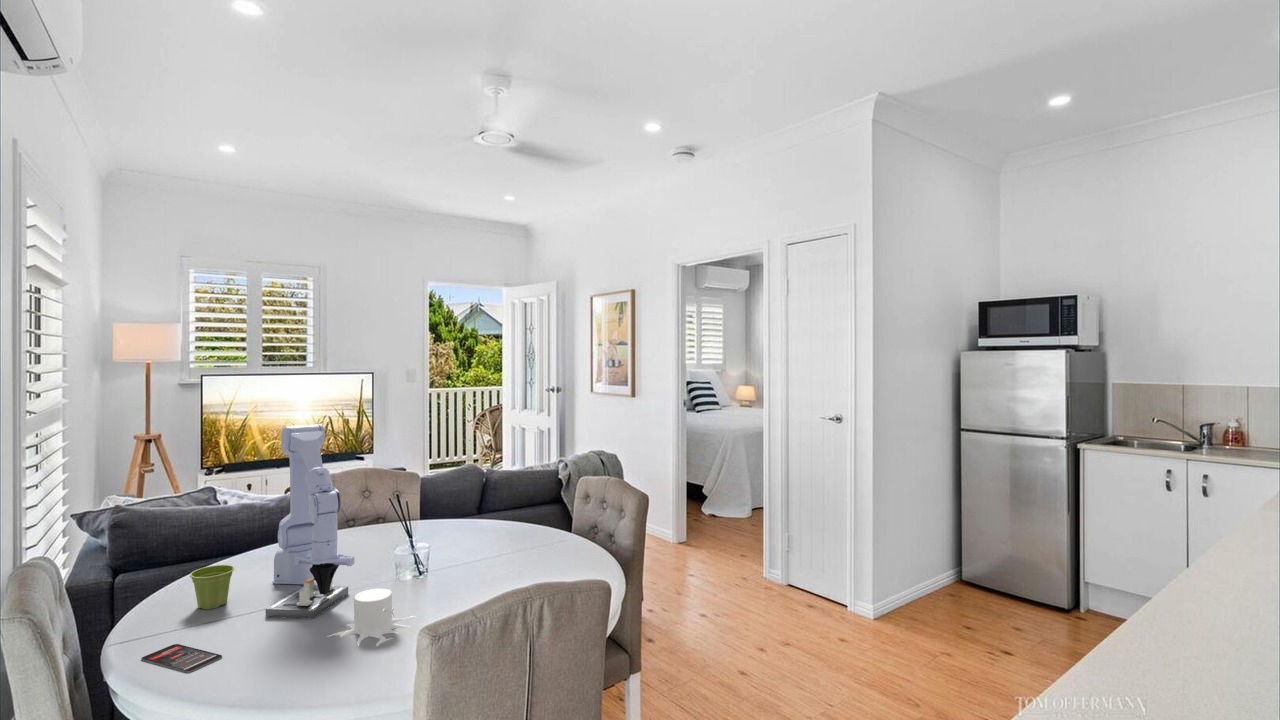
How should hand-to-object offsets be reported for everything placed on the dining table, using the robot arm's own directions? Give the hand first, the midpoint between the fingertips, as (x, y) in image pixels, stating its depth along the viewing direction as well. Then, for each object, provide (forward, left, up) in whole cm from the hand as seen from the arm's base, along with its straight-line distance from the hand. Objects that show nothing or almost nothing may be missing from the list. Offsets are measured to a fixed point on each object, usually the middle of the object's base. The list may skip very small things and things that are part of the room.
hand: (324, 592), depth 161 cm
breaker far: (-2, +5, -1) cm, 6 cm away
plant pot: (-28, -2, -3) cm, 28 cm away
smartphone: (-14, -29, -4) cm, 33 cm away
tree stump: (+19, -11, -4) cm, 22 cm away
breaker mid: (-4, 0, -1) cm, 4 cm away
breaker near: (-2, -5, -1) cm, 6 cm away
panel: (-4, 0, -3) cm, 5 cm away
